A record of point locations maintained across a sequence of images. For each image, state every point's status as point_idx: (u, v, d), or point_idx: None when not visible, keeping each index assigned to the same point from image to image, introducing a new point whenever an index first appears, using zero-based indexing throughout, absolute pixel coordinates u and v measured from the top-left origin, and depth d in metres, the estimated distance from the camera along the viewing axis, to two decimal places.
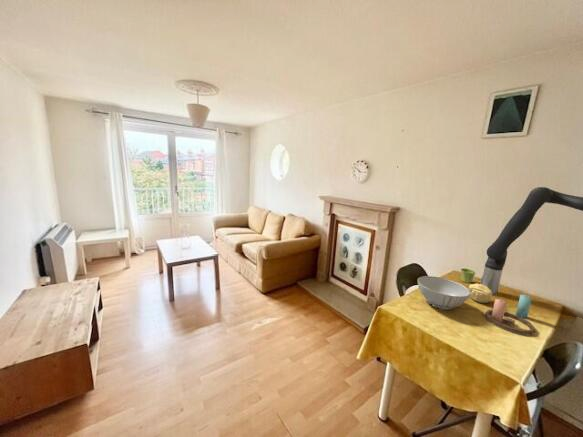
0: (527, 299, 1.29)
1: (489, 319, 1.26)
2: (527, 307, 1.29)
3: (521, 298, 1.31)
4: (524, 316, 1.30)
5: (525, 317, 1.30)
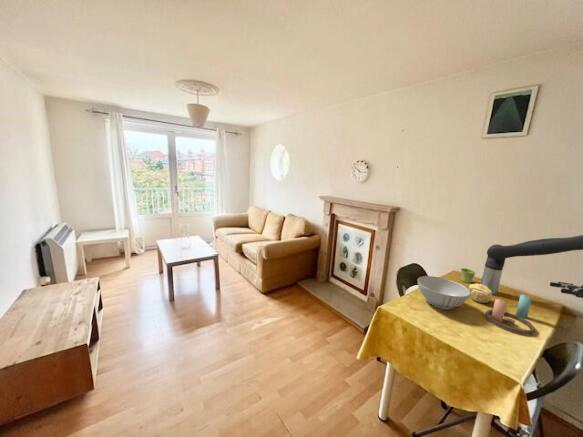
0: (527, 299, 1.29)
1: (489, 319, 1.26)
2: (527, 307, 1.29)
3: (521, 298, 1.31)
4: (524, 316, 1.30)
5: (525, 317, 1.30)
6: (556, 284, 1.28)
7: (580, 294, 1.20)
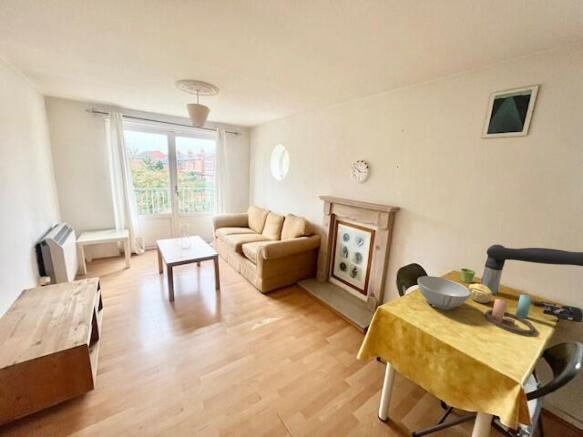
0: (527, 299, 1.29)
1: (489, 319, 1.26)
2: (527, 307, 1.29)
3: (521, 298, 1.31)
4: (524, 316, 1.30)
5: (525, 317, 1.30)
6: (539, 304, 1.32)
7: (561, 315, 1.24)
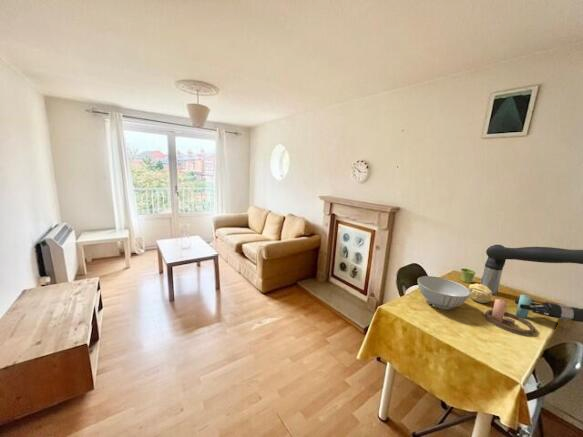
0: (527, 299, 1.29)
1: (489, 319, 1.26)
2: None
3: (521, 298, 1.31)
4: (524, 316, 1.30)
5: (525, 317, 1.30)
6: None
7: None
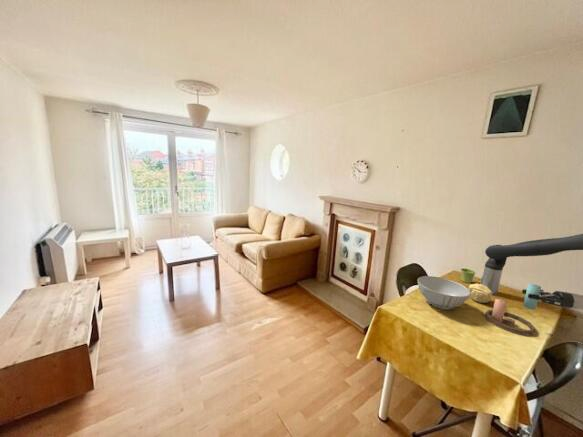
0: (536, 288, 1.17)
1: (489, 319, 1.26)
2: None
3: (529, 287, 1.19)
4: (533, 307, 1.19)
5: (534, 308, 1.19)
6: None
7: (549, 301, 1.16)
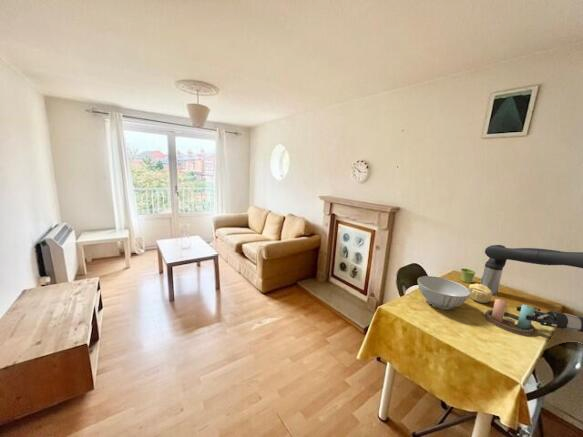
0: (529, 310, 1.18)
1: (489, 319, 1.26)
2: None
3: (523, 308, 1.20)
4: (526, 328, 1.19)
5: (527, 329, 1.19)
6: None
7: (545, 321, 1.15)
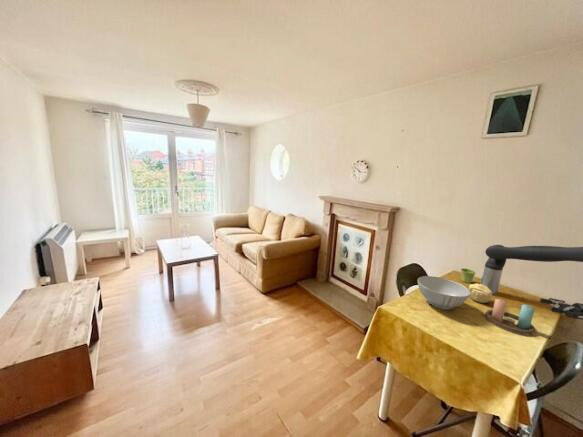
0: (529, 310, 1.18)
1: (489, 319, 1.26)
2: (529, 318, 1.18)
3: (523, 308, 1.20)
4: (526, 328, 1.19)
5: (527, 329, 1.19)
6: (547, 301, 1.21)
7: (571, 313, 1.12)
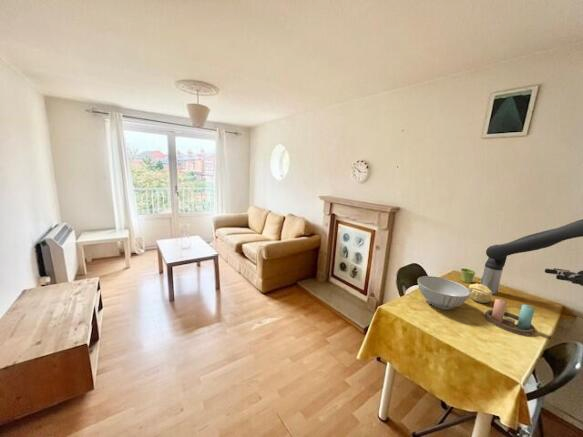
0: (529, 310, 1.17)
1: (489, 319, 1.26)
2: (529, 318, 1.18)
3: (523, 308, 1.20)
4: (526, 328, 1.19)
5: (527, 329, 1.19)
6: (551, 271, 1.20)
7: (577, 280, 1.12)
